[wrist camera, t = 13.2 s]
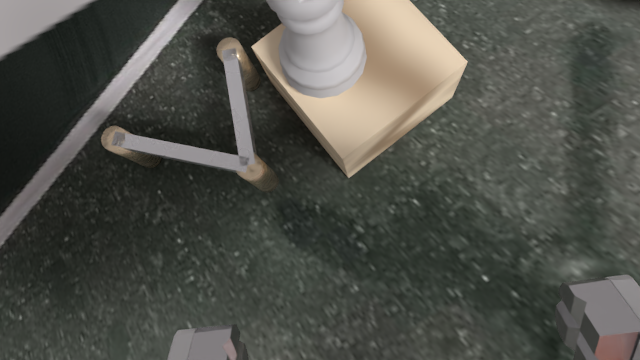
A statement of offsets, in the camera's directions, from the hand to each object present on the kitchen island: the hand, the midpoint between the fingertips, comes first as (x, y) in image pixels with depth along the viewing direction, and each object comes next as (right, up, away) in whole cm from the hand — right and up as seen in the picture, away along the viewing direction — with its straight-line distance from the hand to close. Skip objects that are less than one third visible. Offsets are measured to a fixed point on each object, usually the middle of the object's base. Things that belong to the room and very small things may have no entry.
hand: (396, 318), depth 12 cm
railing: (-7, +6, +18) cm, 20 cm away
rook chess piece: (-2, +10, +13) cm, 16 cm away
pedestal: (+1, +9, +17) cm, 20 cm away
